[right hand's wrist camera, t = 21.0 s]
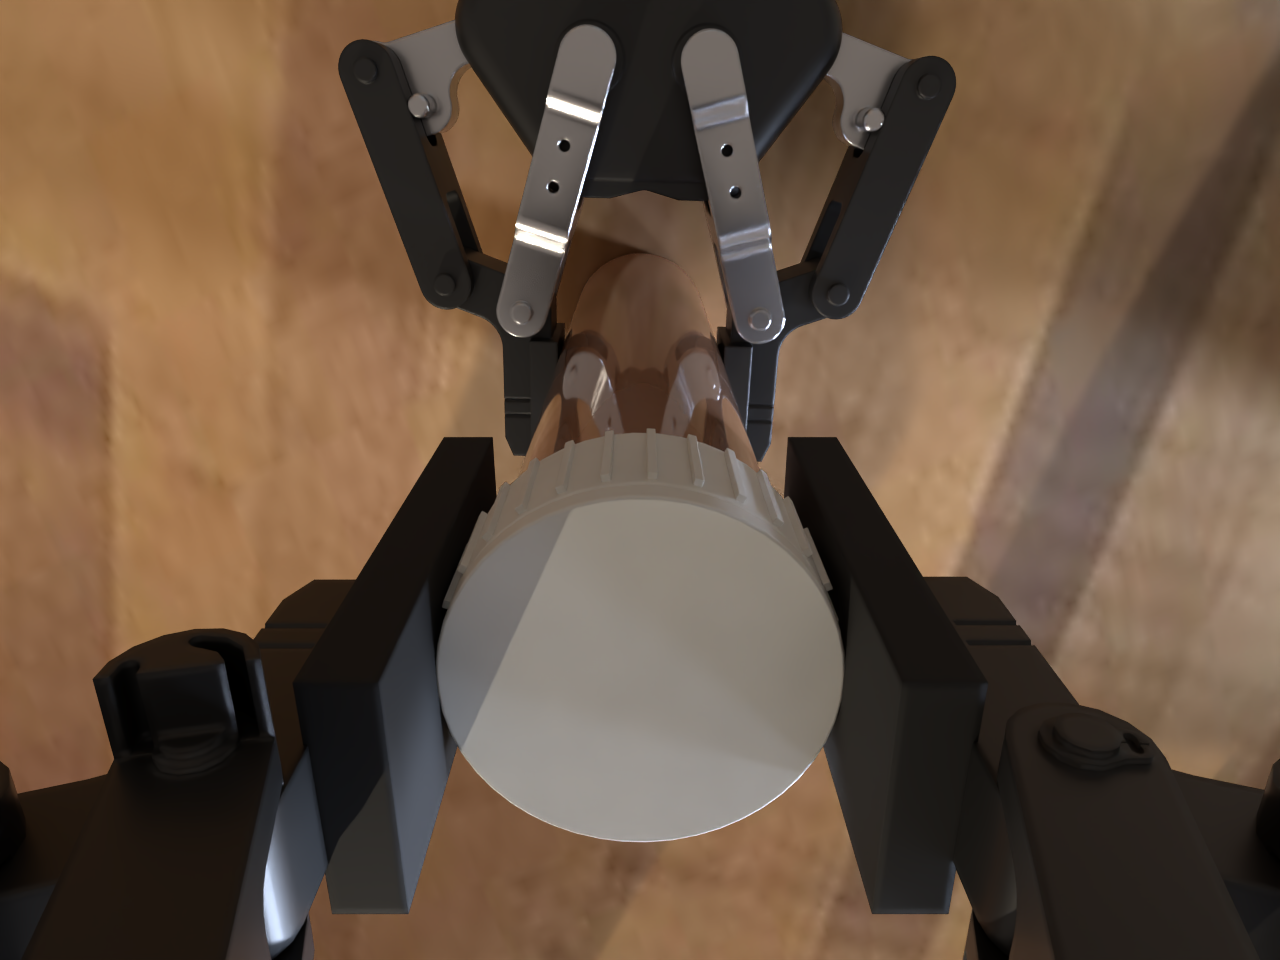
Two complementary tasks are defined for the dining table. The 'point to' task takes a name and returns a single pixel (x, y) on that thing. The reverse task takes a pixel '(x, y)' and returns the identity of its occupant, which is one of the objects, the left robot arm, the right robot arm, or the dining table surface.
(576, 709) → the lid
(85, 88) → the dining table surface
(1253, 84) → the dining table surface
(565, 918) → the dining table surface
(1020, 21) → the dining table surface
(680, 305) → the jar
